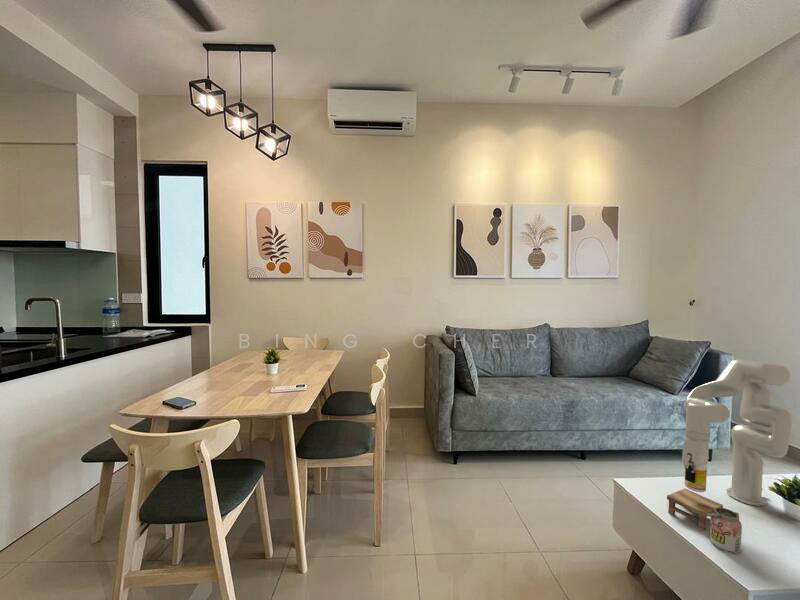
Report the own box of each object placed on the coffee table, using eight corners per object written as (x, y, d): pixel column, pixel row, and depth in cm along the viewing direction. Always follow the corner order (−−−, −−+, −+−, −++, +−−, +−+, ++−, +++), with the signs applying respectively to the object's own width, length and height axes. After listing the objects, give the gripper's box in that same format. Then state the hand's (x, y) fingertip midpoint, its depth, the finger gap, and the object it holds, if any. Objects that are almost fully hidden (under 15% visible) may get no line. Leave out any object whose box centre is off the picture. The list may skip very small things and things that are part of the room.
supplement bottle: (709, 494, 140) (711, 461, 140) (690, 491, 141) (691, 459, 141) (699, 485, 146) (700, 453, 146) (680, 483, 148) (682, 451, 147)
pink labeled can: (700, 536, 133) (701, 504, 132) (721, 535, 134) (722, 503, 133) (725, 555, 124) (727, 520, 123) (747, 553, 124) (749, 519, 124)
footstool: (684, 504, 153) (684, 488, 153) (722, 522, 141) (723, 505, 141) (666, 512, 147) (666, 495, 147) (704, 531, 135) (705, 513, 135)
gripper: (697, 428, 151) (695, 470, 151) (674, 434, 143) (672, 479, 143) (720, 434, 144) (718, 479, 144) (696, 441, 136) (694, 488, 137)
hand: (695, 479), depth 144 cm, fingers closed on supplement bottle, 6 cm apart
